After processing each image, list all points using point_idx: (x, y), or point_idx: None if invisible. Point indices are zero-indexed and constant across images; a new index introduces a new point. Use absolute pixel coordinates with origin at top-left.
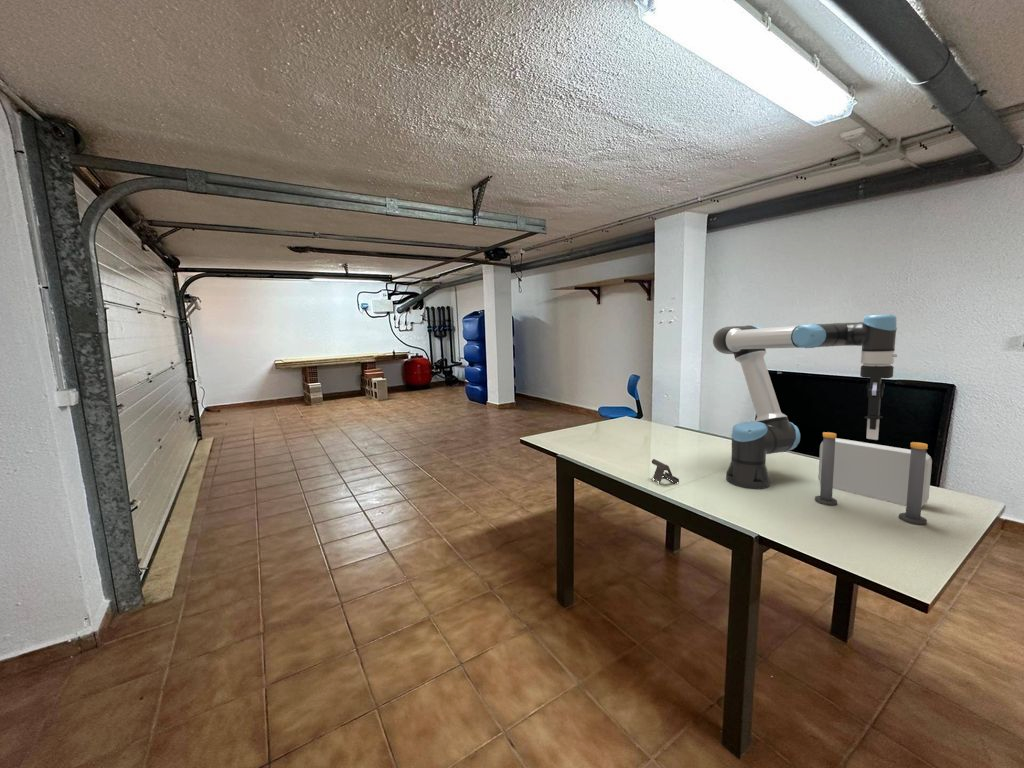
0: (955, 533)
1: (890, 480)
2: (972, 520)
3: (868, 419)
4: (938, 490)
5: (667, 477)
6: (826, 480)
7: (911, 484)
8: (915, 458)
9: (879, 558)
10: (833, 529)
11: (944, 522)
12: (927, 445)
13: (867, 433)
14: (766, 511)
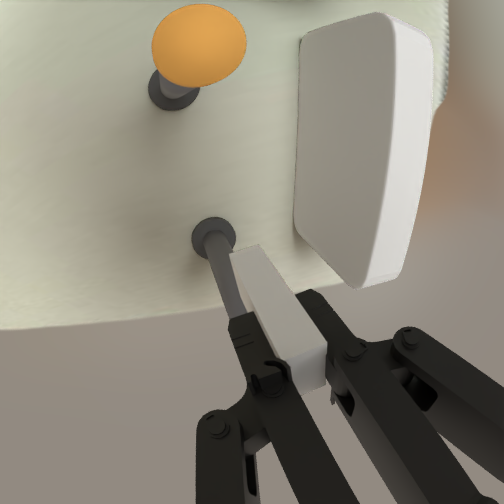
0: (208, 290)
1: (322, 190)
2: (294, 281)
3: (281, 358)
4: None
5: None
6: (160, 85)
7: (219, 283)
8: None
9: (8, 272)
10: (29, 182)
11: None
12: None
13: (239, 277)
14: (6, 64)
